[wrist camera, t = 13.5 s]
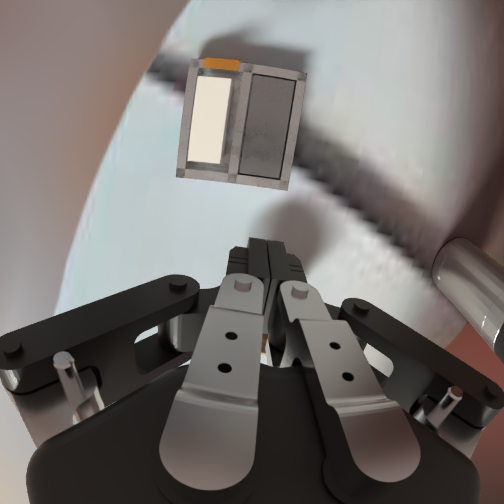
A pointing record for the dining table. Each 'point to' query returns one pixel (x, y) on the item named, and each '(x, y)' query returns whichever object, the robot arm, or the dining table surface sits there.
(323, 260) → the dining table surface
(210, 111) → the panel
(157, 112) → the dining table surface
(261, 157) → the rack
